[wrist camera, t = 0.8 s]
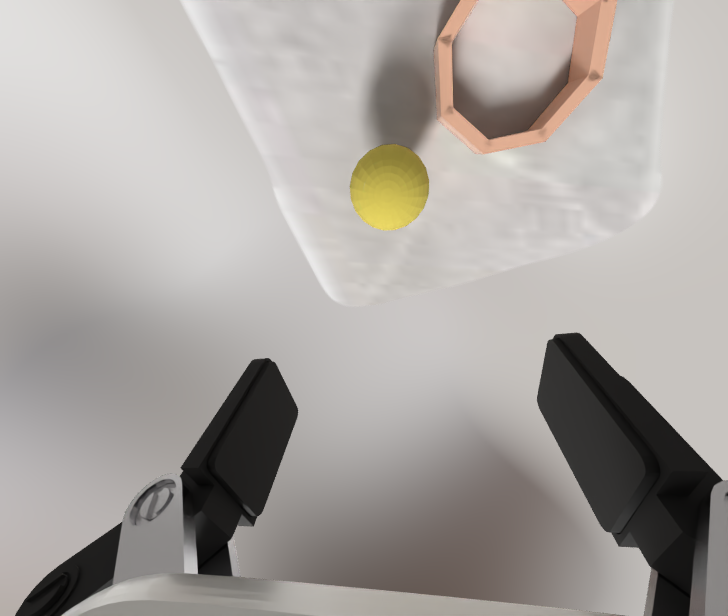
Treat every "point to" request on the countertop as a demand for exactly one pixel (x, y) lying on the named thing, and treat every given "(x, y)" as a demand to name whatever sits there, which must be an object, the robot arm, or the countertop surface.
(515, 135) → the terracotta ring
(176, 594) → the robot arm
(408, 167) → the light bulb
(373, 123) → the countertop surface
